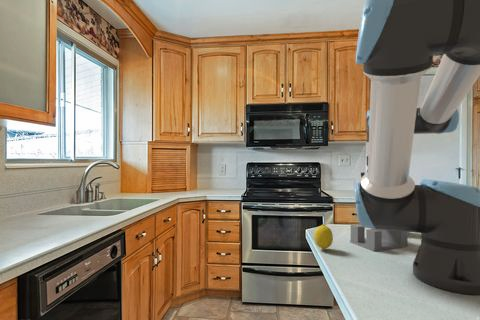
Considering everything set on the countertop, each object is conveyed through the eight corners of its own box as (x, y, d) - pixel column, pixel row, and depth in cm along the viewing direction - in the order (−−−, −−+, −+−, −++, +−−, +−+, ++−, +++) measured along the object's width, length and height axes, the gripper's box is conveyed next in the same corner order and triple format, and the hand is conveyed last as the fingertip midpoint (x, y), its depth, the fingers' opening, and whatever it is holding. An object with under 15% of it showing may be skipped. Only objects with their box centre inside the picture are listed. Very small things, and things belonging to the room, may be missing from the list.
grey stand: (408, 245, 91) (408, 227, 91) (374, 251, 85) (374, 231, 85) (382, 237, 100) (382, 221, 100) (350, 242, 95) (350, 224, 95)
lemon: (310, 248, 88) (310, 223, 88) (325, 246, 90) (325, 222, 90) (321, 253, 83) (321, 227, 83) (336, 251, 85) (336, 225, 85)
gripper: (411, 154, 86) (411, 228, 86) (365, 155, 103) (365, 217, 103) (394, 154, 83) (394, 231, 83) (350, 155, 100) (350, 219, 100)
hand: (378, 223), depth 93 cm, fingers closed on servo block, 5 cm apart
